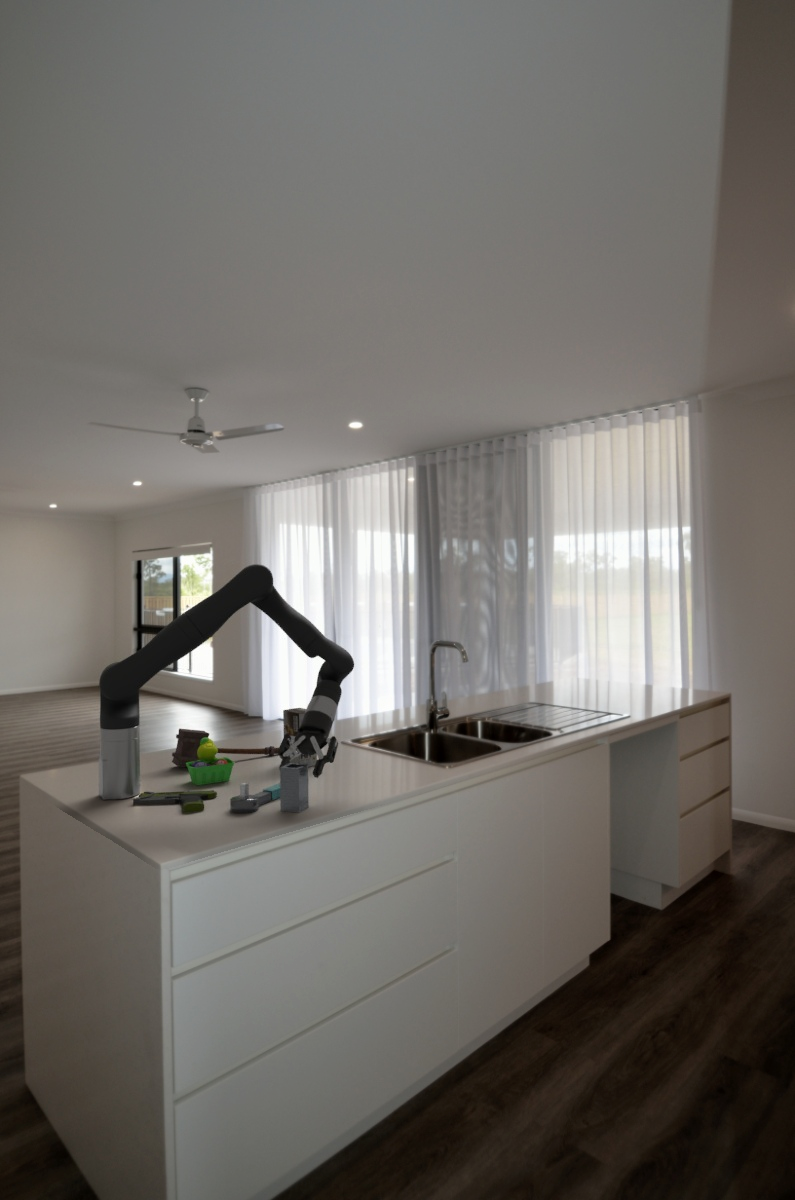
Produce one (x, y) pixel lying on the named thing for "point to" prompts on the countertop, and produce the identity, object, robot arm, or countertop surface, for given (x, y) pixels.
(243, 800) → the ratchet
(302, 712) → the coffee box
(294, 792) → the grey hollow square tube
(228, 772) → the fruit basket
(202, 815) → the countertop surface
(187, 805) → the gun
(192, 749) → the hammer
